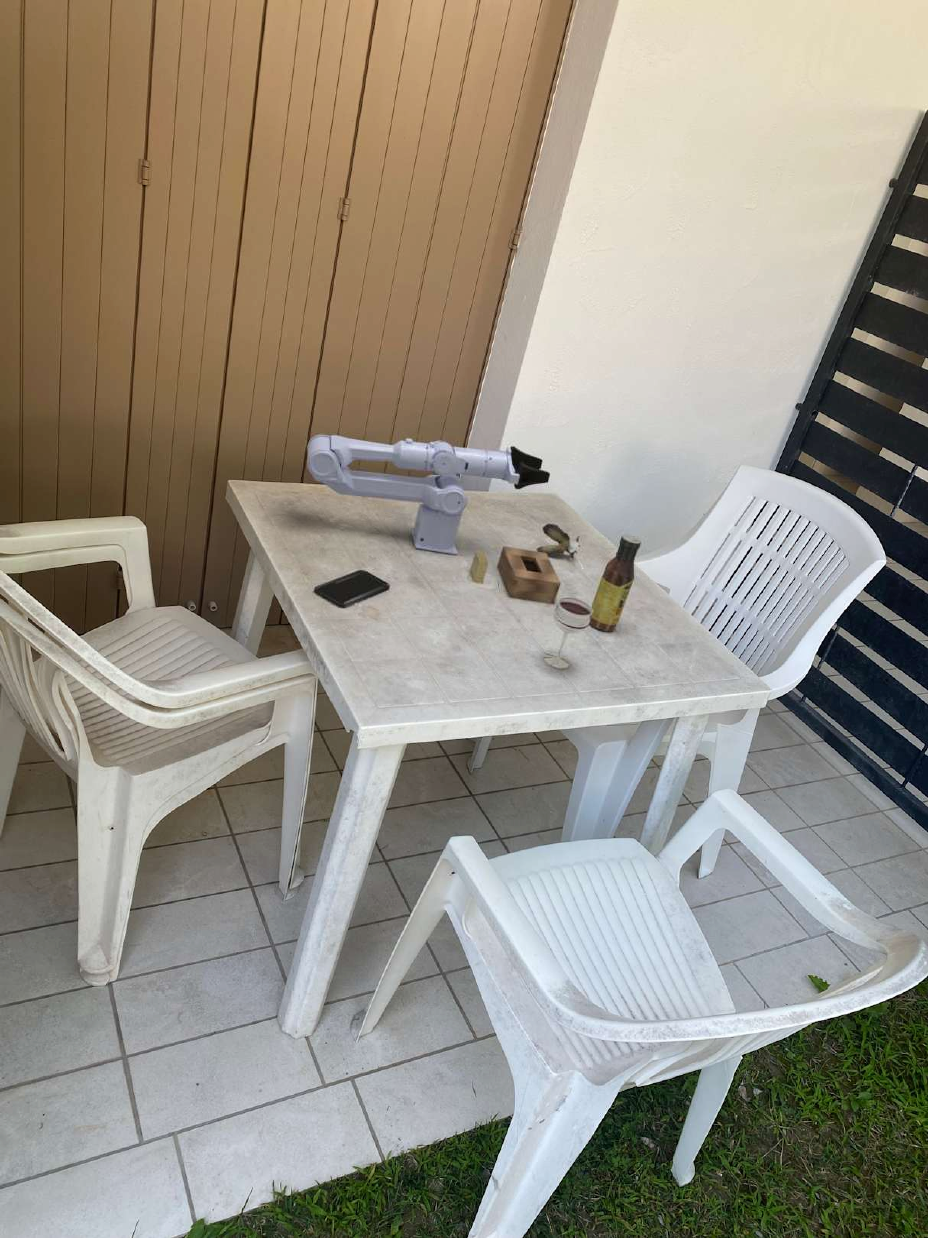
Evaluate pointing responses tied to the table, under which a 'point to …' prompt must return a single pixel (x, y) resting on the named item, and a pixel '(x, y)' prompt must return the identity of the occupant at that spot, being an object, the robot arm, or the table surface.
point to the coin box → (528, 575)
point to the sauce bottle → (615, 585)
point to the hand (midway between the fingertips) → (545, 470)
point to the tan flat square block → (479, 567)
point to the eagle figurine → (559, 537)
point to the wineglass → (568, 624)
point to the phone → (351, 588)
